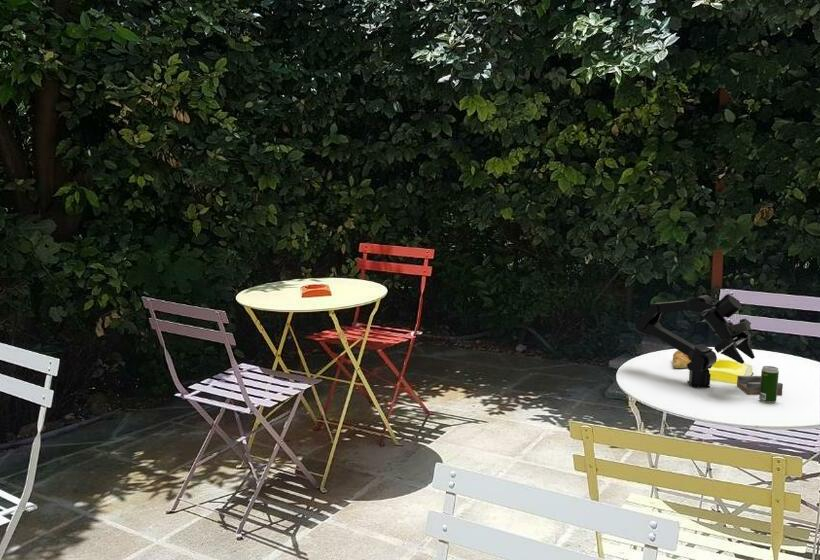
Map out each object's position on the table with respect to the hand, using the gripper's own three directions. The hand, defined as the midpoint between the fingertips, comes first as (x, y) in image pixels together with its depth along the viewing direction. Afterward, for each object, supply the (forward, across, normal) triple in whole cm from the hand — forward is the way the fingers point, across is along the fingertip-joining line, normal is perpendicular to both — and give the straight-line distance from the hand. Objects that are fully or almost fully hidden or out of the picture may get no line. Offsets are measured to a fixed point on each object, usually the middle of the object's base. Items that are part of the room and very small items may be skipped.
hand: (748, 360), depth 256 cm
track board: (+10, +10, +9) cm, 17 cm away
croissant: (-14, +24, +34) cm, 44 cm away
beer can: (+15, 0, +4) cm, 15 cm away
